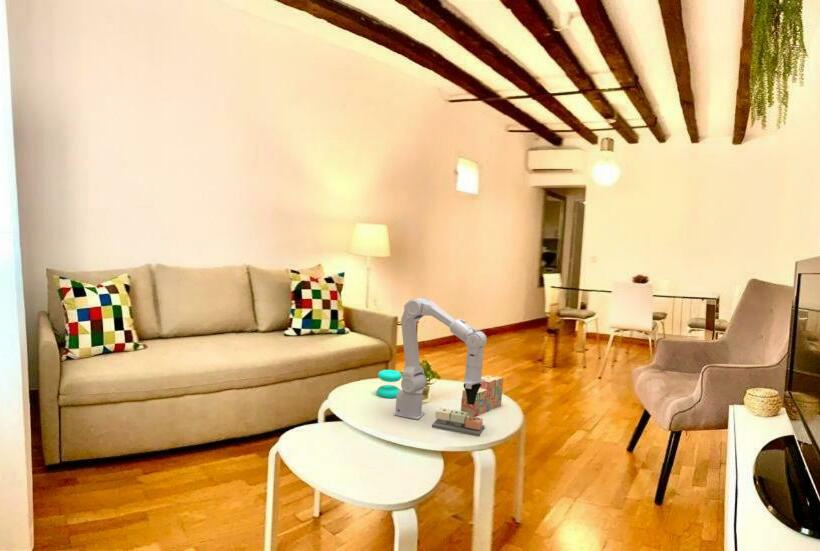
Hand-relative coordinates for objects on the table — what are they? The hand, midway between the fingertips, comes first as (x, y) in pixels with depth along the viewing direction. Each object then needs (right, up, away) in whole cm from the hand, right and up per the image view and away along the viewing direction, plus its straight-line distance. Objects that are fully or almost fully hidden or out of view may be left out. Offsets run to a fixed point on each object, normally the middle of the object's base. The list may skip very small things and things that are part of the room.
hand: (470, 404), depth 180 cm
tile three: (+1, -8, 0) cm, 8 cm away
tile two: (-4, -6, +2) cm, 8 cm away
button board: (-4, -9, +2) cm, 10 cm away
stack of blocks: (+7, -9, +25) cm, 27 cm away
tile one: (-9, -6, +3) cm, 11 cm away
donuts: (-30, -5, +35) cm, 47 cm away
